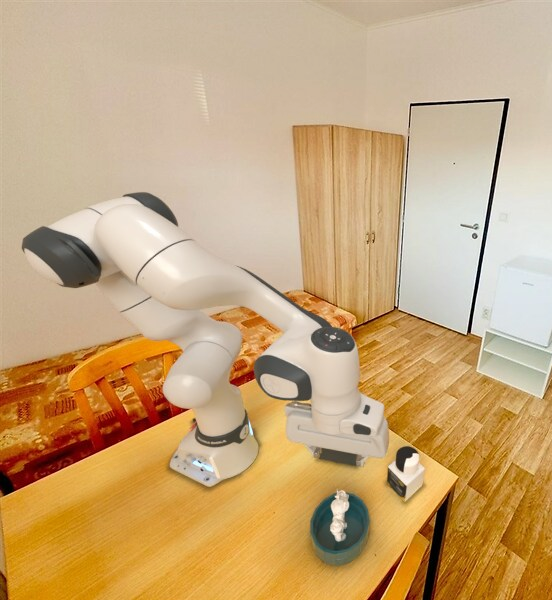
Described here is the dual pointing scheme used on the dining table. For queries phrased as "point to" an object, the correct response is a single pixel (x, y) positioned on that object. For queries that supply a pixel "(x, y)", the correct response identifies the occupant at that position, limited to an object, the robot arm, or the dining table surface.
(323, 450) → the bin
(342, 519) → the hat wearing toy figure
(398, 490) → the medicine bottle
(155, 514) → the dining table surface
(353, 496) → the bowl
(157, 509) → the dining table surface
